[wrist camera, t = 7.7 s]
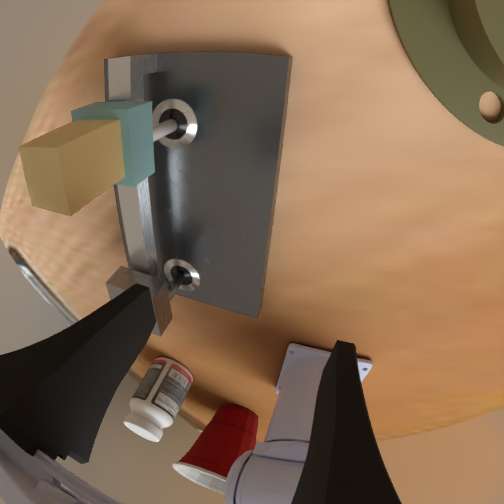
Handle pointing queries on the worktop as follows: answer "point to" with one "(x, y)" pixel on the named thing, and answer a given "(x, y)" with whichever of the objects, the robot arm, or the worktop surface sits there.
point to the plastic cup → (219, 447)
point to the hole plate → (215, 171)
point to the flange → (457, 54)
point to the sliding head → (92, 154)
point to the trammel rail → (139, 204)
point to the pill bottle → (158, 398)
